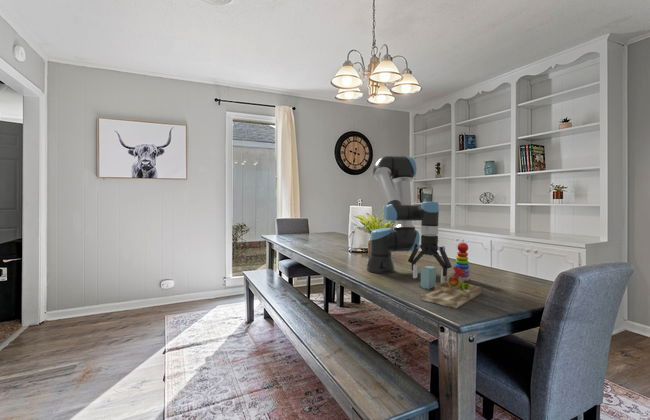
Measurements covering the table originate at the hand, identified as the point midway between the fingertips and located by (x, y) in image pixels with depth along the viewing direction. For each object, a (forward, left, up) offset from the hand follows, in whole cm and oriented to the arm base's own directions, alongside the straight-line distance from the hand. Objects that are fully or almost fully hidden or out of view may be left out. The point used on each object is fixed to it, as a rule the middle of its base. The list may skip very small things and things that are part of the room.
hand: (428, 280), depth 159 cm
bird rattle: (+14, -1, -2) cm, 14 cm away
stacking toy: (+6, +24, -3) cm, 25 cm away
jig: (+14, -7, -3) cm, 16 cm away
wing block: (0, 0, -3) cm, 3 cm away
